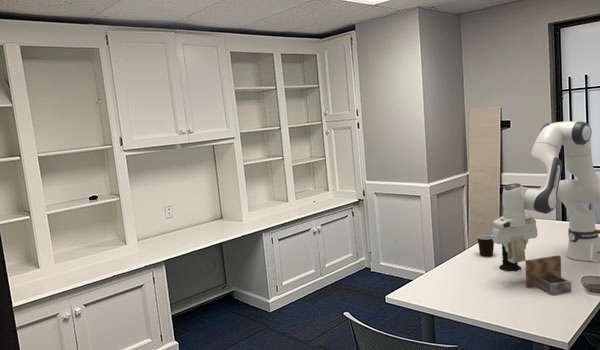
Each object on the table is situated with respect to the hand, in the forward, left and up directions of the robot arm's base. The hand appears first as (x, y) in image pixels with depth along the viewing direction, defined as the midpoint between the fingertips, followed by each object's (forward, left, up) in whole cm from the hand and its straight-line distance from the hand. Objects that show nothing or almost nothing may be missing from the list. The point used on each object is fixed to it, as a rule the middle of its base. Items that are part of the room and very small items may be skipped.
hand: (515, 250), depth 206 cm
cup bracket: (-7, +13, -15) cm, 21 cm away
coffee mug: (-9, -39, -15) cm, 43 cm away
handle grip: (-7, -16, -15) cm, 23 cm away
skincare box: (0, 0, -5) cm, 5 cm away
